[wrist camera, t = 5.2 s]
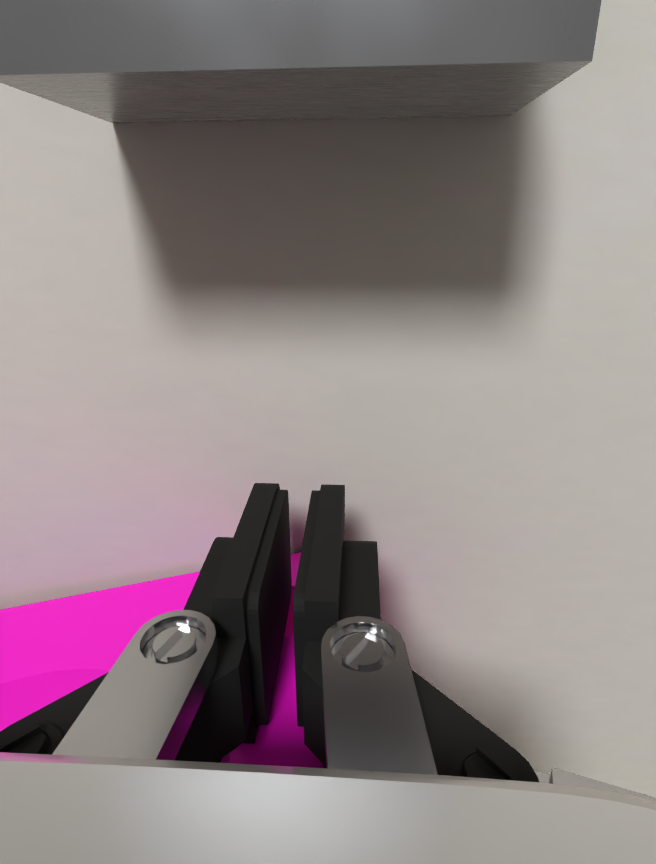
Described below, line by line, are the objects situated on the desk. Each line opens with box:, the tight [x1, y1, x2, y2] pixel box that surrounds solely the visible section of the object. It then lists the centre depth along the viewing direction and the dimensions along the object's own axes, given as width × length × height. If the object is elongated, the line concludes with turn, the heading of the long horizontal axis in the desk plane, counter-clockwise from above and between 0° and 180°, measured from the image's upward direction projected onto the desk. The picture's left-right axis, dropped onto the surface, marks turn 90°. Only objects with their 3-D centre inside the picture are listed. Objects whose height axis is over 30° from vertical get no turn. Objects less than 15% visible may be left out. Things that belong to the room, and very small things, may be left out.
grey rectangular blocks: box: [0, 0, 601, 122], centre depth 13 cm, size 8×28×4 cm, turn 0°
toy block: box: [0, 552, 323, 768], centre depth 13 cm, size 15×6×8 cm, turn 103°
